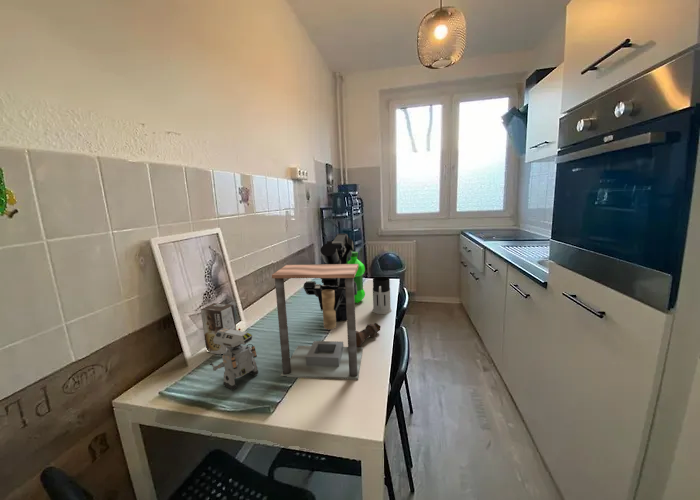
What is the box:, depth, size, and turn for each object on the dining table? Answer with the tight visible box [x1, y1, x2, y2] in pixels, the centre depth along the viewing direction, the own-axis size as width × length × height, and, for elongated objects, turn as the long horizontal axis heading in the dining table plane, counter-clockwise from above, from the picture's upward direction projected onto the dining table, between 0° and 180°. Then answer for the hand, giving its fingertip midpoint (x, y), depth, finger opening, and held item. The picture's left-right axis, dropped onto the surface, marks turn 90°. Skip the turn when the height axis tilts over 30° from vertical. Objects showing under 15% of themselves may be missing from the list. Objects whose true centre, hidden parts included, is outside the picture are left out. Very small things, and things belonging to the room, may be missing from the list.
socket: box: [306, 340, 345, 366], centre depth 95 cm, size 10×10×4 cm
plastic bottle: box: [348, 251, 366, 304], centre depth 146 cm, size 10×10×25 cm
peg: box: [322, 289, 337, 330], centre depth 102 cm, size 4×4×13 cm
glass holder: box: [372, 276, 393, 315], centre depth 131 cm, size 9×14×15 cm, turn 170°
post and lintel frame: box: [271, 263, 364, 380], centre depth 91 cm, size 18×23×31 cm
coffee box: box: [200, 302, 237, 355], centre depth 103 cm, size 9×6×16 cm
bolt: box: [356, 322, 381, 347], centre depth 107 cm, size 6×5×15 cm
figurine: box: [209, 328, 259, 391], centre depth 85 cm, size 9×12×15 cm
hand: (328, 310), depth 101 cm, fingers closed on peg, 4 cm apart
